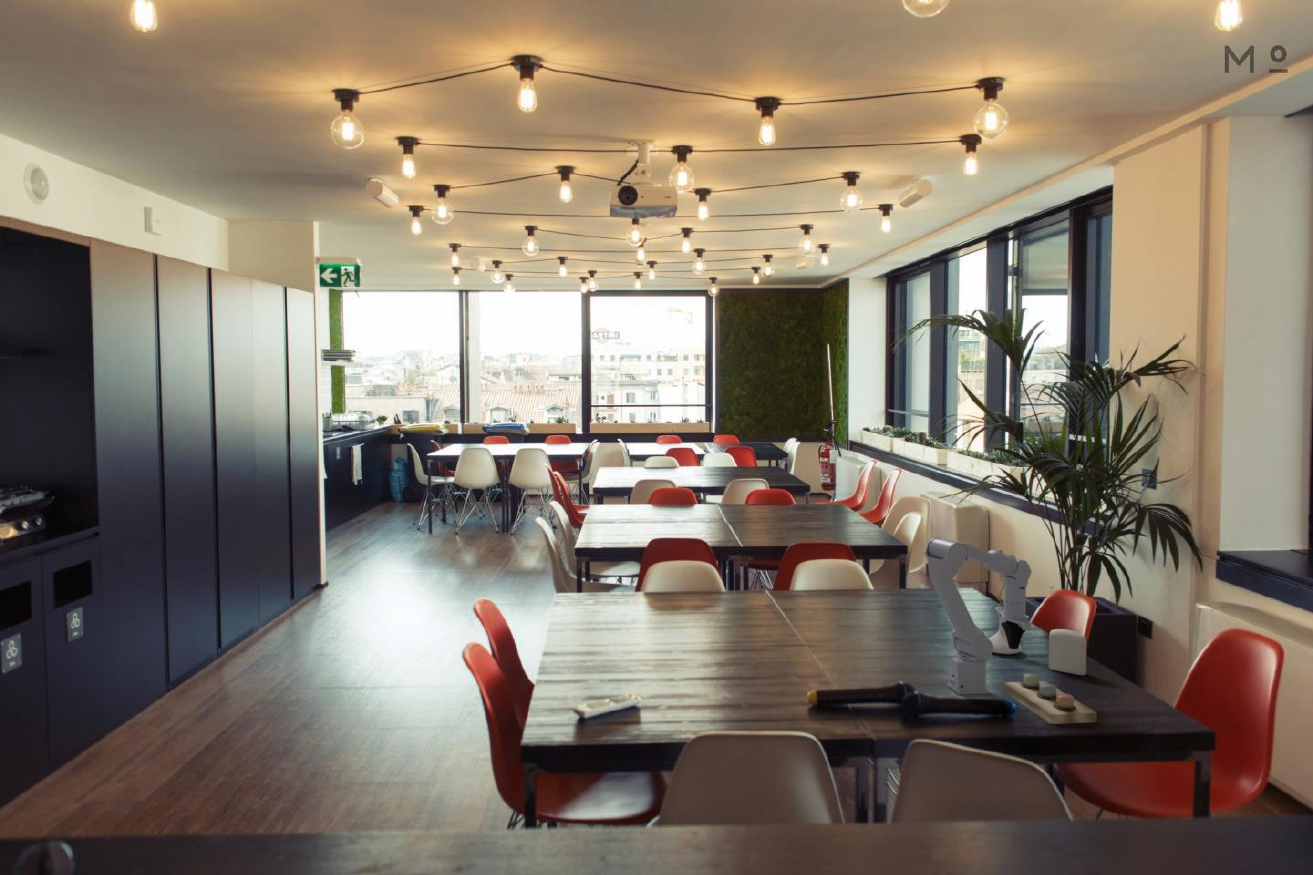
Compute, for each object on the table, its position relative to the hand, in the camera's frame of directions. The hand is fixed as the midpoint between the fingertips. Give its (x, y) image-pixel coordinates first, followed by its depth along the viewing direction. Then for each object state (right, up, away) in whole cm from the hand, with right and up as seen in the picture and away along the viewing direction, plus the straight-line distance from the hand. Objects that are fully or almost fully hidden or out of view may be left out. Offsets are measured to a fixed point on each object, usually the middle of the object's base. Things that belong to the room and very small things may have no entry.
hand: (1013, 648), depth 250 cm
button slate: (+2, -8, -17) cm, 19 cm away
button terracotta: (+3, -8, -25) cm, 27 cm away
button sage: (+1, -7, -10) cm, 12 cm away
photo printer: (+20, -10, +11) cm, 25 cm away
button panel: (+2, -11, -17) cm, 21 cm away
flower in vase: (+9, -8, +31) cm, 33 cm away
